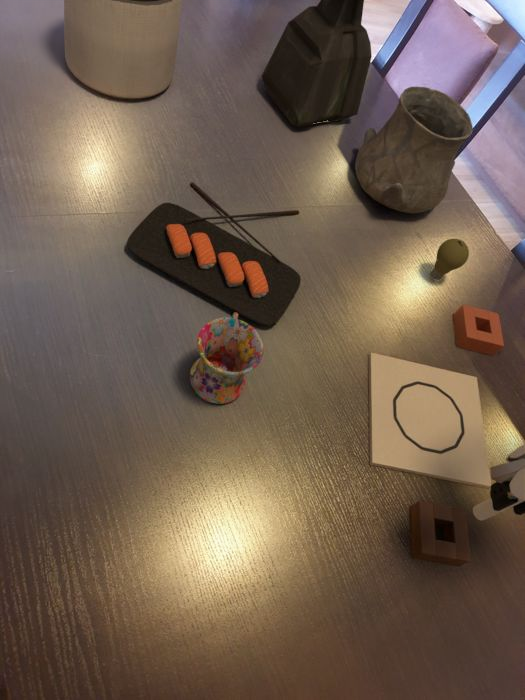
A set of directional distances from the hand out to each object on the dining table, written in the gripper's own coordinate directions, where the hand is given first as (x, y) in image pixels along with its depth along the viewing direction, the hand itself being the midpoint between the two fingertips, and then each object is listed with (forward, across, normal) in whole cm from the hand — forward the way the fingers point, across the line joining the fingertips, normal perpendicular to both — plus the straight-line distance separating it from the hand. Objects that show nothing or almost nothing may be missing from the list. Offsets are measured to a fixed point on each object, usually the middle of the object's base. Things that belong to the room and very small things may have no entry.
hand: (505, 500), depth 69 cm
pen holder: (+17, +10, +39) cm, 44 cm away
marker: (+7, 0, 0) cm, 7 cm away
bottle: (+17, -26, +94) cm, 99 cm away
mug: (+17, -36, +19) cm, 43 cm away
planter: (+17, -66, +87) cm, 111 cm away
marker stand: (+17, 0, 0) cm, 17 cm away
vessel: (+17, -6, +74) cm, 76 cm away
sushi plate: (+17, -36, +47) cm, 62 cm away
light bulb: (+17, +4, +51) cm, 54 cm away
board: (+17, 0, +19) cm, 25 cm away
